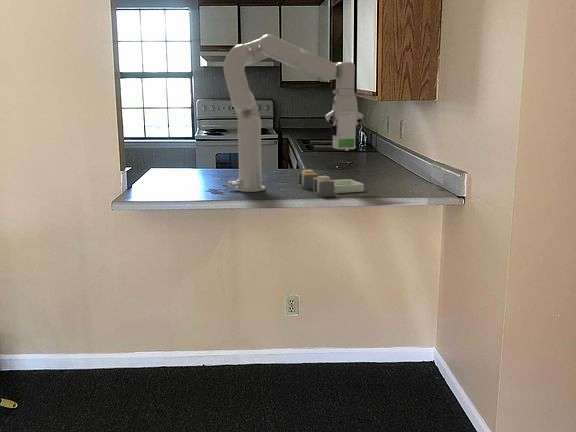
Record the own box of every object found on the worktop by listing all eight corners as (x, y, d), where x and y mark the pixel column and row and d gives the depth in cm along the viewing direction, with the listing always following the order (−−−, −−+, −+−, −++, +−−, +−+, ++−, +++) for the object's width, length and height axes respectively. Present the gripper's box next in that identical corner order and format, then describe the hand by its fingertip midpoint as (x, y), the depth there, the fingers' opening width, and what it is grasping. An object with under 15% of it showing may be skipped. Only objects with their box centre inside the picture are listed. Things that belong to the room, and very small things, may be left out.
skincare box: (337, 149, 255) (337, 111, 251) (331, 147, 261) (332, 110, 257) (356, 149, 257) (357, 111, 253) (350, 147, 263) (351, 110, 259)
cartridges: (320, 195, 249) (320, 177, 247) (301, 186, 269) (301, 170, 267) (329, 195, 250) (330, 177, 248) (310, 186, 270) (310, 169, 269)
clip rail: (319, 196, 247) (319, 180, 245) (297, 186, 270) (297, 171, 269) (334, 195, 249) (335, 180, 247) (311, 185, 272) (311, 170, 271)
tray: (336, 193, 254) (336, 186, 254) (323, 187, 267) (323, 180, 266) (363, 191, 258) (363, 184, 258) (349, 185, 271) (350, 179, 270)
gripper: (329, 93, 247) (328, 136, 251) (368, 92, 253) (366, 135, 257) (322, 92, 254) (321, 134, 258) (360, 92, 260) (359, 133, 264)
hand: (344, 134), depth 257 cm, fingers closed on skincare box, 8 cm apart
